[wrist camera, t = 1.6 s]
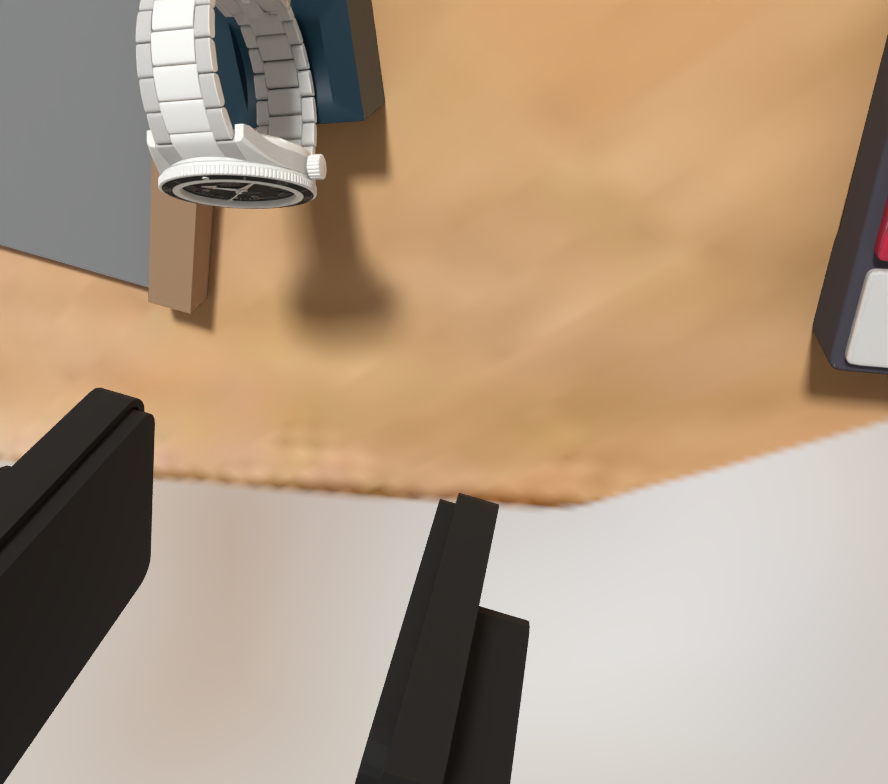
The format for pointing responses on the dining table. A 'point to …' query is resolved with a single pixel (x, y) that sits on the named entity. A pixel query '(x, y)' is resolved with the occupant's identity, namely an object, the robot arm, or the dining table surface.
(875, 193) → the calculator
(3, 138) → the mat
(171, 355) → the dining table surface
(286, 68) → the watch
